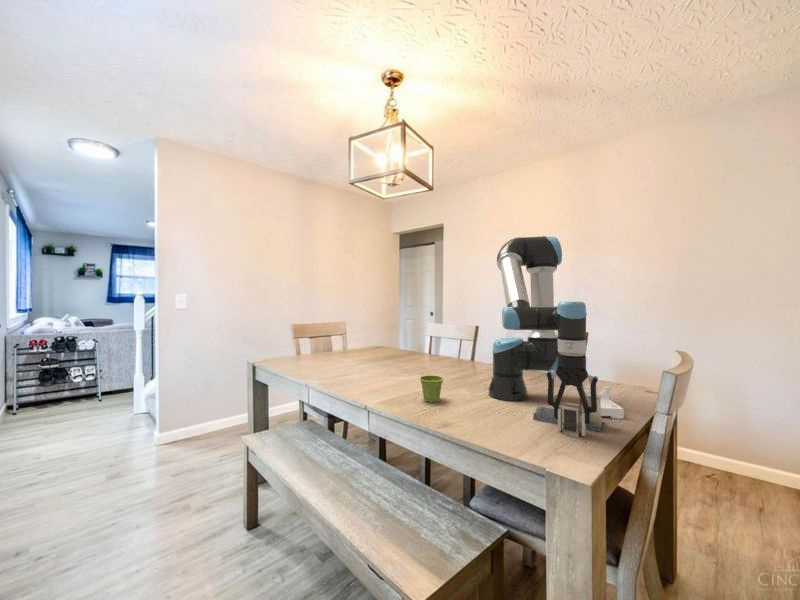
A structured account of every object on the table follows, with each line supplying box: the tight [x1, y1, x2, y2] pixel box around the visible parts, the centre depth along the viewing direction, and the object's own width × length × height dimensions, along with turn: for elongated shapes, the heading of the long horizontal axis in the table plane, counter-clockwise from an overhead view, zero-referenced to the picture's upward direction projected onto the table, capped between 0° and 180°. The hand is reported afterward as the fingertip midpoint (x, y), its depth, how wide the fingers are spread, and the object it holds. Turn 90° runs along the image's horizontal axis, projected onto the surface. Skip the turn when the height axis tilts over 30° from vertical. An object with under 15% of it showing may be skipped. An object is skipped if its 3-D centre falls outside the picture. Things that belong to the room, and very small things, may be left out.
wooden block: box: [562, 402, 581, 438], centre depth 100 cm, size 5×4×8 cm
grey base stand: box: [532, 391, 604, 433], centre depth 110 cm, size 19×10×10 cm, turn 55°
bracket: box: [585, 385, 625, 420], centre depth 118 cm, size 13×7×8 cm, turn 171°
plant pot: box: [419, 374, 445, 402], centre depth 133 cm, size 9×9×9 cm
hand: (571, 431), depth 100 cm, fingers open, 6 cm apart
